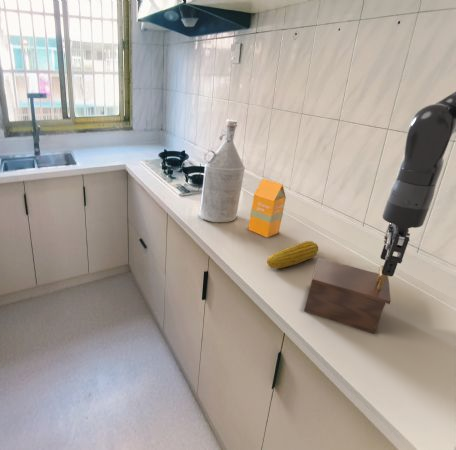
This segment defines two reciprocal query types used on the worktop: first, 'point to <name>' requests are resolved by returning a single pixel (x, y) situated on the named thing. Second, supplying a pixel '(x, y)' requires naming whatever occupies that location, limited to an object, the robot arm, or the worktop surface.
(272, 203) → the orange juice
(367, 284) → the bread lid
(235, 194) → the grey jug
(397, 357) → the worktop surface
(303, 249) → the food
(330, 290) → the bin
